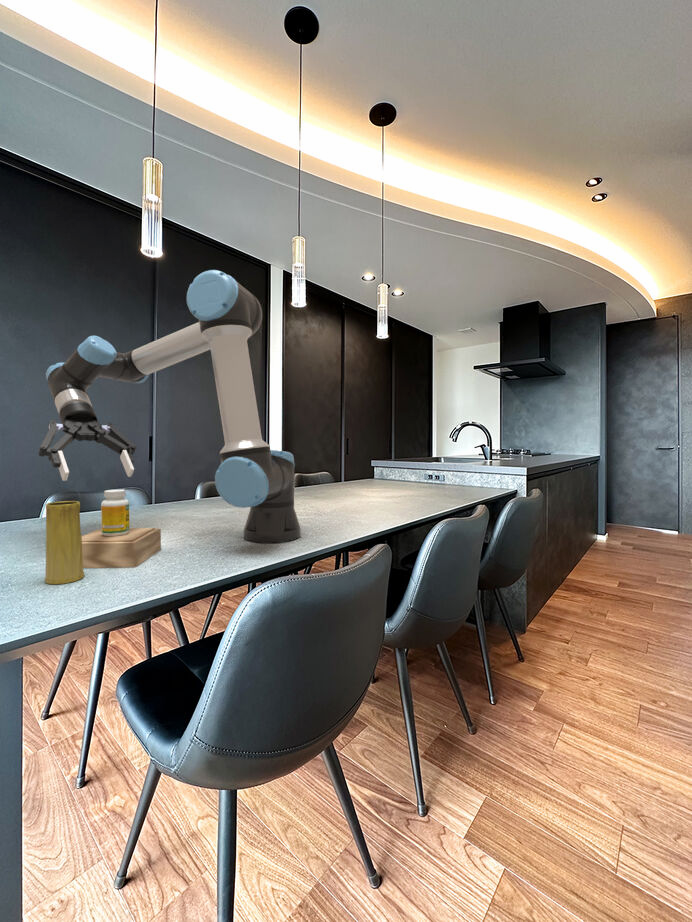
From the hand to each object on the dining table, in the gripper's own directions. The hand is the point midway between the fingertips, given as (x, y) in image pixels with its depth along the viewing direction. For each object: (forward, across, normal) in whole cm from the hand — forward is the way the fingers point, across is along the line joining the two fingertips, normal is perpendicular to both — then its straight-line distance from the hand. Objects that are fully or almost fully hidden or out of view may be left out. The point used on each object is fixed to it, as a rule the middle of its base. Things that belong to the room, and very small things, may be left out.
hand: (100, 474), depth 95 cm
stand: (+18, 0, -7) cm, 20 cm away
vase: (+24, +12, -2) cm, 27 cm away
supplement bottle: (+15, 0, -3) cm, 15 cm away
